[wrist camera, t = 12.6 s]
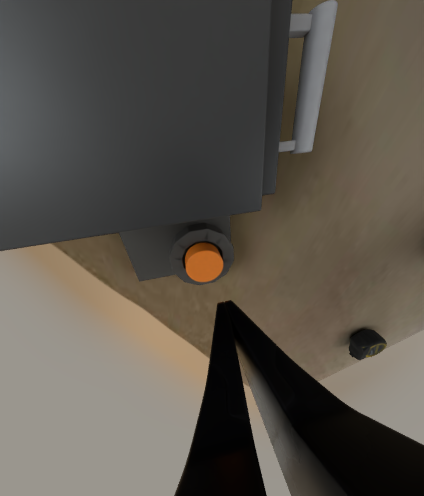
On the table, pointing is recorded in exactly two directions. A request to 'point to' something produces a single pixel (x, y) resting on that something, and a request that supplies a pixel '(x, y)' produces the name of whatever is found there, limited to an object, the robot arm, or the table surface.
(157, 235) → the pad
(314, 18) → the box with white handle
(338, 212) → the table surface
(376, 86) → the table surface
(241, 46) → the grey lidded box
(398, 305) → the table surface
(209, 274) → the button
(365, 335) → the tape measure
